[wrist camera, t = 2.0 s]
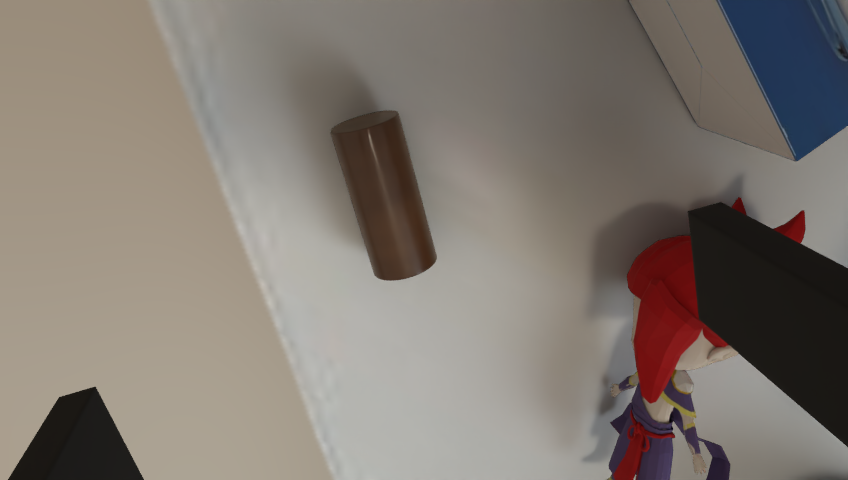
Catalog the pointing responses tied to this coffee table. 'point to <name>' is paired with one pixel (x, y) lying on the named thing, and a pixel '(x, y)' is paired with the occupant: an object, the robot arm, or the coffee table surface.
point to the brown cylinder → (385, 194)
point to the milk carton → (757, 67)
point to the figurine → (669, 361)
